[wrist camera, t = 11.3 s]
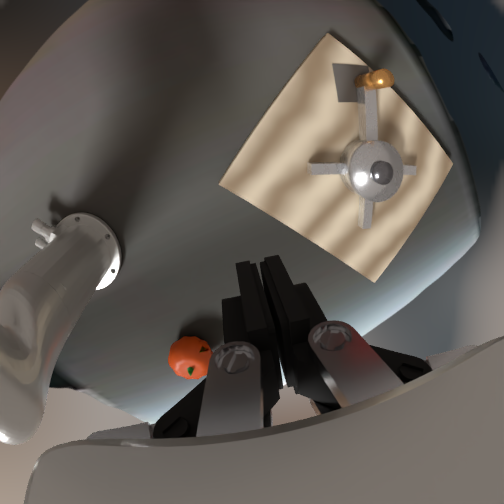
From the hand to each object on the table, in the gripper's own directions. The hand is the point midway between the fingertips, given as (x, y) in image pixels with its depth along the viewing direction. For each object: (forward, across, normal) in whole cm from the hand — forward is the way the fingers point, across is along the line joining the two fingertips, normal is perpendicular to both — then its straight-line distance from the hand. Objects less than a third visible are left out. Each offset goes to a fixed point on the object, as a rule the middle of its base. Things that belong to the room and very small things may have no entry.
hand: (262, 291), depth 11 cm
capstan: (+25, -19, -2) cm, 31 cm away
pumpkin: (+27, +12, +27) cm, 40 cm away
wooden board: (+27, -18, 0) cm, 33 cm away
